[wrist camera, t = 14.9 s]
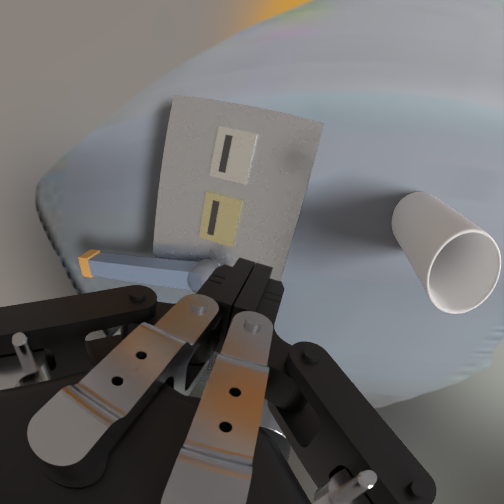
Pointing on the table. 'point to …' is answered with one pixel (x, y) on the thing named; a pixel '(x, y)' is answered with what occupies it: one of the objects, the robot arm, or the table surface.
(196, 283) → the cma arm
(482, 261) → the cup
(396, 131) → the table surface
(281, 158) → the chassis
